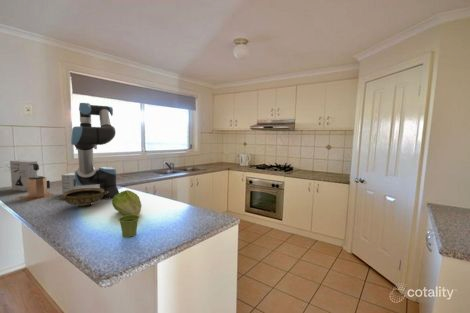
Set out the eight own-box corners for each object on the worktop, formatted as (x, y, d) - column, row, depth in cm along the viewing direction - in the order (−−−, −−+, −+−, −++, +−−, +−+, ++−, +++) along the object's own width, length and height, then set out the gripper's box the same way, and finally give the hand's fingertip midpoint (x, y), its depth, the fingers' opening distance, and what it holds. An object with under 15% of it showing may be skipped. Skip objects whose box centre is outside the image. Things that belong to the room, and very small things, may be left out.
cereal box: (11, 189, 193) (9, 160, 191) (22, 187, 200) (20, 159, 198) (29, 191, 187) (27, 162, 184) (39, 189, 194) (37, 161, 192)
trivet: (57, 197, 173) (57, 195, 173) (27, 202, 157) (26, 201, 157) (47, 193, 182) (47, 192, 182) (17, 198, 166) (17, 197, 166)
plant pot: (142, 230, 116) (142, 214, 115) (135, 239, 106) (134, 221, 105) (124, 230, 115) (123, 214, 115) (115, 239, 106) (114, 221, 105)
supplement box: (73, 196, 176) (72, 175, 175) (61, 195, 177) (60, 174, 175) (81, 193, 186) (81, 173, 184) (71, 192, 186) (70, 172, 185)
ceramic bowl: (60, 215, 135) (59, 199, 134) (54, 206, 151) (53, 191, 151) (114, 205, 156) (114, 191, 155) (104, 198, 173) (103, 185, 172)
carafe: (52, 195, 173) (51, 176, 172) (31, 199, 163) (30, 178, 161) (47, 193, 178) (46, 175, 177) (26, 196, 168) (25, 177, 166)
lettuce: (119, 212, 124) (143, 195, 132) (105, 197, 140) (127, 183, 148) (131, 229, 131) (153, 212, 139) (117, 213, 147) (137, 199, 155)
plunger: (45, 194, 171) (43, 163, 168) (33, 196, 164) (31, 164, 162) (41, 192, 174) (39, 162, 172) (29, 194, 168) (27, 163, 166)
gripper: (99, 123, 191) (100, 148, 193) (65, 121, 170) (66, 149, 171) (104, 123, 187) (105, 149, 189) (70, 121, 166) (71, 150, 168)
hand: (86, 149), depth 180 cm, fingers open, 13 cm apart
